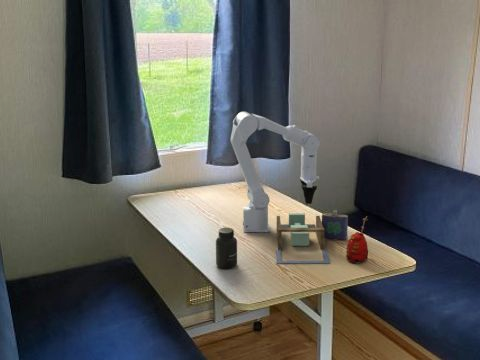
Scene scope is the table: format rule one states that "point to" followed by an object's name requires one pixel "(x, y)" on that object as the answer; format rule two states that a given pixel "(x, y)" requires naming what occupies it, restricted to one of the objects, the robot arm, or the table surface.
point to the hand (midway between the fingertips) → (307, 200)
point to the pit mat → (305, 224)
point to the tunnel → (318, 230)
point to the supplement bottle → (226, 249)
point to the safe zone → (325, 255)
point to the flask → (335, 226)
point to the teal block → (298, 222)
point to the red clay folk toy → (357, 247)
